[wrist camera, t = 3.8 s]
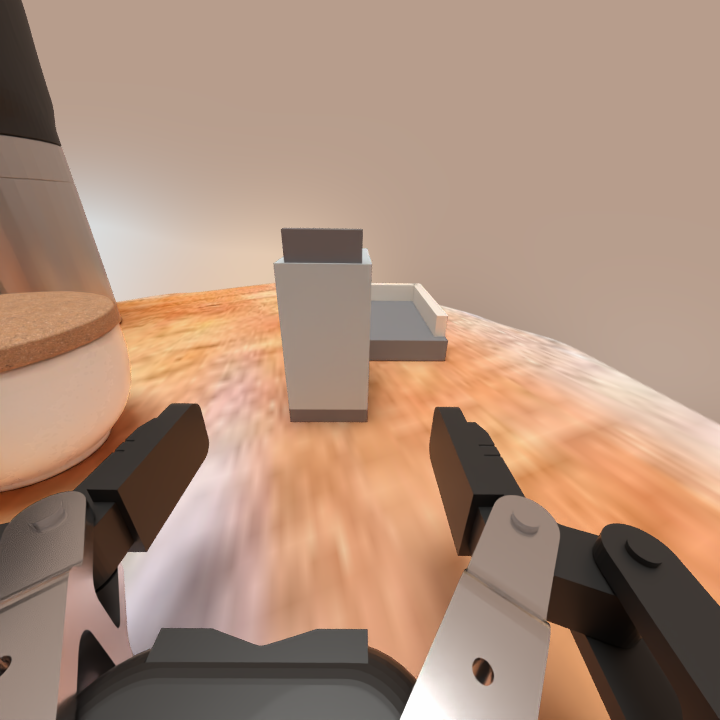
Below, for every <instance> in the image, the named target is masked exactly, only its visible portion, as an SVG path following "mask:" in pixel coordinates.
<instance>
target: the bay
mask: <svg viewBox="0 0 720 720" xmlns="http://www.w3.org/2000/svg"><path fill="white" fill-rule="evenodd" d="M371 301H413V303H414V305H415V306H416V308H417V309H418V311H419V313H420V314H421V316H422V317H423V319H424V321H425V322H426V324H427V326H428V327H429V329H430V330H431V332H432V334H433V335H434V337H445V333H446V327H447V320H448V315H447V314H446V313H445V312H444V311H443V309H442V308H441V307H440V306H439V305H438V304H437V302H436V301H435V300H434V299H433V298H432V297H431V296H430V294H429V293H428V292H427V291H426V290H425V289H424V287H423V286H422V285H421V284H399V283H395V284H394V283H392V284H390V283H371Z"/></svg>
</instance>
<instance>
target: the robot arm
mask: <svg viewBox="0 0 720 720" xmlns="http://www.w3.org/2000/svg"><path fill="white" fill-rule="evenodd" d="M48 291H73V292H86V293H94V294H99V295H103V296H106V297H108V298H110V299H111V300H112V301H113V302H114V303H115V305H116V308H117V311H118V314H119V323H120V322H121V320H122V318H121V315H120V312H119V309H118V307H117V304H116V301H115V298H114V295H113V292H112V289H111V286H110V283H109V280H108V278H107V275H106V272H105V269H104V266H103V263H102V260H101V258H100V255H99V252H98V249H97V246H96V243H95V240H94V238H93V235H92V232H91V229H90V226H89V223H88V220H87V218H86V215H85V212H84V209H83V206H82V204H81V201H80V198H79V195H78V192H77V189H76V186H75V184H74V181H73V178H72V175H71V172H70V169H69V166H68V164H67V161H66V158H65V155H64V152H63V150H62V148H61V144H60V141H59V138H58V135H57V132H56V127H55V119H54V110H53V105H52V102H51V98H50V95H49V92H48V89H47V86H46V82H45V79H44V76H43V73H42V69H41V66H40V63H39V59H38V56H37V52H36V49H35V45H34V42H33V38H32V35H31V31H30V27H29V24H28V20H27V17H26V14H25V10H24V7H23V4H22V1H21V0H0V295H1V294H12V293H27V292H48ZM208 449H209V439H208V435H207V431H206V427H205V423H204V420H203V416H202V412H201V408H200V406H199V405H198V404H189V403H173V404H170V405H169V406H168V407H167V408H166V409H165V410H164V411H163V412H162V413H161V414H160V415H159V416H158V417H157V418H154V419H152V420H150V421H149V422H147V423H145V424H144V425H142V426H140V427H139V428H137V429H136V430H135V431H134V432H133V433H132V434H131V435H130V436H129V437H128V438H127V439H126V440H125V442H123V443H122V444H121V445H120V446H119V447H118V448H117V449H116V450H115V453H111V454H110V455H109V456H108V457H107V458H106V459H105V460H104V461H103V462H102V463H101V464H100V465H99V466H98V467H97V468H96V469H95V470H94V471H93V472H92V473H91V474H90V475H89V476H88V477H87V478H86V479H85V480H84V481H83V482H82V483H81V484H80V485H79V486H78V487H76V488H75V489H74V490H73V491H68V492H62V493H57V494H54V495H51V496H49V497H46V498H44V499H42V500H40V501H38V502H36V503H34V504H32V505H30V506H29V507H27V508H26V509H24V510H23V511H22V512H20V513H19V514H18V515H17V516H16V517H14V518H13V519H12V520H11V522H9V523H5V524H1V525H0V720H538V714H539V708H540V701H541V695H542V688H543V682H544V675H545V669H546V662H547V656H548V649H549V642H550V624H549V623H548V622H547V621H549V622H552V623H555V624H557V625H560V626H563V627H565V628H568V629H570V631H571V633H572V635H573V637H574V639H575V642H576V644H577V646H578V648H579V650H580V653H581V655H582V657H583V659H584V661H585V664H586V666H587V668H588V670H589V672H590V675H591V677H592V679H593V681H594V683H595V686H596V688H597V690H598V692H599V694H600V697H601V699H602V701H603V703H604V705H605V707H606V710H607V712H608V714H609V716H610V718H611V720H720V606H719V605H718V604H717V603H716V601H715V600H714V599H713V598H712V597H711V596H710V594H709V593H708V592H707V591H706V590H705V589H704V588H703V586H702V585H701V584H700V583H699V582H698V581H697V579H696V578H695V577H694V576H693V575H692V574H691V572H690V571H689V570H688V569H687V568H686V567H685V565H684V564H683V563H682V562H681V561H680V560H679V559H678V557H677V556H676V555H675V554H674V553H673V552H672V551H671V550H670V549H669V548H668V547H667V546H665V545H664V544H663V543H662V542H660V541H659V540H658V539H656V538H655V537H653V536H651V535H650V534H648V533H646V532H644V531H642V530H640V529H638V528H635V527H632V526H629V525H625V524H619V523H617V524H609V525H607V526H605V527H604V528H603V529H602V531H601V533H600V535H599V536H598V535H594V534H591V533H587V532H584V531H580V530H577V529H573V528H570V527H566V526H563V525H560V524H558V523H556V521H555V520H554V518H553V517H552V516H551V514H550V513H549V512H548V511H547V510H546V509H544V508H543V507H542V506H540V505H539V504H537V503H536V502H534V501H532V500H530V499H527V498H525V496H524V494H523V493H522V491H521V489H520V488H519V486H518V484H517V482H516V481H515V479H514V477H513V476H512V474H511V472H510V470H509V469H508V467H507V465H506V464H505V462H504V460H503V458H502V457H500V453H499V451H498V450H497V448H496V447H495V446H494V443H493V441H492V439H491V438H490V436H489V434H488V433H487V432H486V431H485V430H484V429H483V428H481V427H480V426H479V425H478V424H477V423H476V422H467V421H466V419H465V417H464V415H463V413H462V411H461V410H460V408H459V407H436V408H435V410H434V416H433V423H432V430H431V436H430V444H429V451H430V459H431V463H432V467H433V470H434V474H435V477H436V481H437V484H438V488H439V491H440V495H441V498H442V502H443V505H444V509H445V512H446V516H447V519H448V523H449V526H450V530H451V533H452V537H453V540H454V544H455V547H456V550H457V554H458V556H471V557H472V558H471V561H470V563H469V565H468V567H467V569H465V570H464V572H463V574H462V576H461V578H460V580H459V583H458V585H457V587H456V590H455V592H454V594H453V597H452V599H451V601H450V604H449V606H448V608H447V611H446V613H445V615H444V618H443V620H442V622H441V625H440V627H439V630H438V632H437V634H436V637H435V639H434V641H433V644H432V646H431V648H430V651H429V653H428V655H427V658H426V660H425V662H424V665H423V667H422V669H421V672H420V674H419V676H418V679H417V680H416V679H415V677H414V676H413V675H412V674H411V673H410V672H408V671H407V670H406V669H405V668H404V667H403V666H402V665H401V664H400V663H398V662H397V661H396V660H394V659H393V658H391V657H390V656H388V655H386V654H384V653H383V652H381V651H379V650H377V649H374V648H372V647H369V646H368V630H367V629H316V630H312V631H309V632H306V633H303V634H300V635H296V636H293V637H290V638H287V639H284V640H281V641H277V642H274V643H271V644H268V645H264V646H258V645H255V644H252V643H249V642H247V641H244V640H241V639H239V638H236V637H234V636H231V635H228V634H226V633H223V632H220V631H218V630H215V629H212V628H161V630H160V632H159V634H158V636H157V639H156V641H155V643H154V645H153V647H152V648H151V649H148V650H146V651H144V652H141V653H139V654H137V655H134V656H133V653H132V650H131V647H130V643H129V639H128V631H127V616H126V600H125V584H124V569H123V566H122V564H121V561H122V559H123V558H124V556H125V555H126V554H127V552H147V551H148V549H149V547H150V546H151V544H152V543H153V541H154V539H155V538H156V536H157V535H158V533H159V531H160V530H161V528H162V527H163V525H164V523H165V522H166V520H167V519H168V517H169V516H170V514H171V512H172V511H173V509H174V508H175V506H176V504H177V503H178V501H179V500H180V498H181V496H182V495H183V493H184V492H185V490H186V488H187V487H188V485H189V484H190V482H191V480H192V479H193V477H194V476H195V474H196V472H197V471H198V469H199V468H200V466H201V464H202V463H203V461H204V460H205V458H206V456H207V453H208Z"/></svg>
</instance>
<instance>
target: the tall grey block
mask: <svg viewBox="0 0 720 720" xmlns="http://www.w3.org/2000/svg"><path fill="white" fill-rule="evenodd" d="M281 234H282V244H283V255H284V256H283V257H282V258H280V259H279V260H278V261H276V262H275V263H274V273H275V282H276V292H277V301H278V310H279V319H280V328H281V337H282V347H283V356H284V365H285V374H286V383H287V392H288V402H289V411H290V420H291V422H367V413H368V380H369V347H370V314H371V281H372V280H371V278H372V263H371V259H370V256H369V253H368V249H367V248H362V239H363V229H326V228H325V229H324V228H282V229H281Z"/></svg>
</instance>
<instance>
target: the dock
mask: <svg viewBox="0 0 720 720" xmlns="http://www.w3.org/2000/svg"><path fill="white" fill-rule="evenodd" d="M447 344H448V340H447V339H446V337H434V335H433V334H432V332H431V330H430V329H429V327H428V326H427V324H426V322H425V321H424V319H423V317H422V316H421V314H420V313H419V311H418V309H417V308H416V306H415V305H414V303H413V301H371V314H370V347H369V360H406V361H445V357H446V350H447Z"/></svg>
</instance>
